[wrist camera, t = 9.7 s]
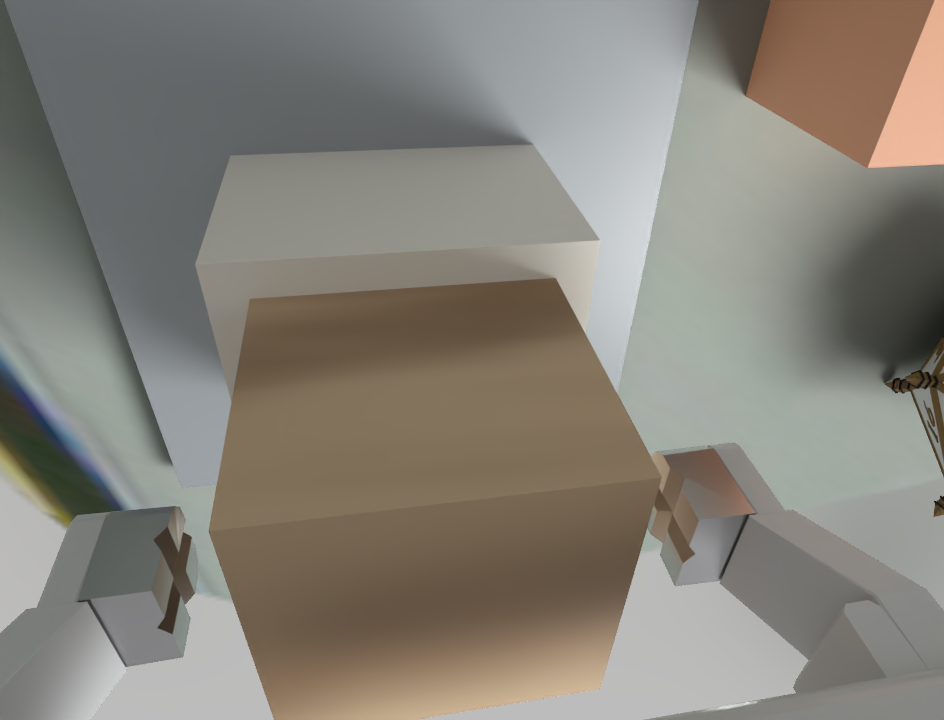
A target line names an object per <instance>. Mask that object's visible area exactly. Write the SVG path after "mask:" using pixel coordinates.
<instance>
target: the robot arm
mask: <svg viewBox="0 0 944 720" xmlns="http://www.w3.org/2000/svg"><path fill="white" fill-rule="evenodd" d="M651 458H652V460H653V462H654V464H655V466H656V468H657V469H658V471H659V473H660V475H661V477H662V479H661V482H660V486H659V489H658V493H657V496H656V499H655V503H654V506H653V510H652V513H651V516H650V520H649V523H648V527H647V528H648V530H649V532H650V534H651V535H653V536H654V537H655V538H657V539H658V540H660V541H661V542H662V543H663V546H662V549H661V553H660V556H661V558H662V560H663V562H664V564H665V566H666V568H667V570H668V572H669V574H670V577H671V579H672V581H673V583H674V585H675V586H680V585H689V584H698V583H706V582H715V581H720V584H721V585H722V586H723V587H725V588H726V589H727V590H728V591H729V592H730V593H732V594H733V595H734V596H735V597H736V598H737V599H739V600H740V601H741V602H742V603H743V604H744V605H746V606H747V607H748V608H749V609H750V610H751V611H753V612H754V613H755V614H756V615H757V616H758V617H760V618H761V619H762V620H763V621H764V622H765V623H767V624H768V625H769V626H770V627H771V628H772V629H774V630H775V631H776V632H777V633H778V634H779V635H780V636H782V637H783V638H784V639H785V640H786V641H788V642H789V643H790V644H791V645H792V646H793V647H794V648H796V649H797V650H798V651H799V652H800V653H801V654H803V655H804V656H805V657H806V658H807V659H808V660H809V661H808V662H807V664H806V665H805V667H804V668H803V670H802V672H801V673H800V675H799V676H798V678H797V679H796V682H795V684H794V687H793V688H794V690H795V692H796V693H795V694H789V695H783V696H779V697H772V698H767V699H761V700H755V701H749V702H743V703H738V704H732V705H727V706H721V707H715V708H709V709H704V710H698V711H692V712H686V713H681V714H675V715H670V716H663V717H658V718H653V719H646V720H944V610H943V609H942V608H941V607H940V605H939V604H938V603H937V602H936V601H935V599H934V598H933V597H932V595H931V594H930V593H929V592H928V590H927V589H925V588H923V587H922V586H920V585H918V584H917V583H915V582H913V581H912V580H910V579H908V578H906V577H905V576H903V575H901V574H900V573H898V572H896V571H895V570H893V569H891V568H890V567H888V566H886V565H885V564H883V563H881V562H880V561H878V560H876V559H875V558H873V557H871V556H869V555H868V554H866V553H865V552H863V551H861V550H860V549H858V548H856V547H854V546H853V545H851V544H849V543H848V542H846V541H844V540H843V539H841V538H839V537H838V536H836V535H834V534H833V533H831V532H829V531H828V530H826V529H824V528H822V527H821V526H819V525H817V524H816V523H814V522H812V521H811V520H809V519H807V518H806V517H804V516H802V515H801V514H799V513H797V512H796V511H794V510H786V511H785V510H784V508H783V507H782V505H781V504H780V503H779V501H778V500H777V498H776V497H775V495H774V494H773V493H772V491H771V490H770V488H769V487H768V485H767V484H766V483H765V481H764V480H763V478H762V477H761V475H760V474H759V473H758V471H757V470H756V468H755V467H754V465H753V464H752V463H751V461H750V460H749V458H748V457H747V455H746V454H745V453H744V451H743V450H742V448H741V447H740V446H739V445H737V444H736V443H726V444H718V445H709V446H698V447H690V448H682V449H674V450H666V451H658V452H655V453H654V454H653V455H652V456H651ZM184 525H185V518H184V515H183V513H182V511H181V508H180V507H177V506H172V507H161V508H149V509H138V510H127V511H115V512H108V513H97V514H87V515H77V516H76V517H75V519H74V520H73V521H72V522H71V523H70V524H69V527H68V529H67V532H66V534H65V537H64V540H63V542H62V545H61V547H60V550H59V552H58V555H57V557H56V560H55V562H54V565H53V568H52V570H51V573H50V575H49V578H48V580H47V583H46V586H45V588H44V591H43V593H42V596H41V598H40V601H39V603H38V606H37V608H31V609H26V610H25V611H24V612H23V613H22V614H21V615H20V616H18V617H17V619H15V620H14V621H13V622H12V623H11V624H10V625H9V626H7V628H5V629H4V630H3V631H2V632H1V633H0V720H90V718H91V717H92V716H93V714H94V713H95V712H96V710H97V709H98V708H99V706H100V705H101V704H102V703H103V701H104V700H105V699H106V697H107V696H108V695H109V693H110V692H111V691H112V689H113V688H114V687H115V685H116V684H117V683H118V681H119V680H120V679H121V677H122V676H123V675H124V673H125V672H126V671H127V669H126V667H128V666H134V665H140V664H146V663H152V662H158V661H164V660H169V659H175V658H181V657H183V655H184V650H185V645H186V639H187V634H188V629H189V623H190V616H189V614H188V612H187V609H186V607H185V604H186V603H187V602H188V601H189V599H191V597H192V596H193V595H194V594H195V590H196V584H197V578H198V559H197V553H196V547H195V544H194V541H193V538H192V537H191V536H189V535H187V534H186V533H184V532H183V530H184Z"/></svg>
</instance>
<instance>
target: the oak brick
mask: <svg viewBox="0 0 944 720" xmlns="http://www.w3.org/2000/svg"><path fill="white" fill-rule="evenodd" d="M661 479H662V477H661V475H660V473H659V471H658V469H657V468H656V466H655V464H654V462H653V460H652V458H651V456H650V454H649V452H648V451H647V449H646V447H645V445H644V443H643V441H642V439H641V437H640V436H639V434H638V432H637V430H636V428H635V426H634V424H633V422H632V420H631V419H630V417H629V415H628V413H627V411H626V409H625V407H624V405H623V404H622V402H621V400H620V398H619V396H618V394H617V392H616V390H615V388H614V387H613V385H612V383H611V381H610V379H609V377H608V375H607V373H606V372H605V370H604V368H603V366H602V364H601V362H600V360H599V358H598V356H597V355H596V353H595V351H594V349H593V347H592V345H591V343H590V341H589V340H588V338H587V336H586V334H585V332H584V330H583V328H582V326H581V324H580V323H579V321H578V319H577V317H576V315H575V313H574V311H573V309H572V308H571V306H570V304H569V302H568V300H567V298H566V296H565V294H564V293H563V291H562V289H561V287H560V285H559V283H558V281H557V279H556V278H548V279H533V280H518V281H504V282H489V283H475V284H460V285H445V286H431V287H416V288H402V289H387V290H373V291H358V292H343V293H329V294H314V295H300V296H285V297H270V298H256V299H250V300H249V306H248V311H247V317H246V323H245V328H244V334H243V340H242V345H241V351H240V357H239V362H238V368H237V374H236V379H235V385H234V391H233V396H232V402H231V408H230V413H229V419H228V424H227V430H226V436H225V441H224V447H223V453H222V458H221V464H220V470H219V475H218V481H217V487H216V492H215V498H214V504H213V509H212V515H211V521H210V526H209V534H210V537H211V540H212V542H213V545H214V548H215V551H216V554H217V557H218V560H219V563H220V565H221V568H222V571H223V574H224V577H225V580H226V583H227V586H228V588H229V591H230V594H231V597H232V600H233V603H234V606H235V608H236V611H237V614H238V617H239V620H240V622H241V626H242V629H243V631H244V634H245V637H246V640H247V643H248V646H249V649H250V651H251V655H252V657H253V660H254V663H255V666H256V669H257V672H258V674H259V677H260V680H261V683H262V686H263V689H264V692H265V695H266V698H267V700H268V703H269V706H270V709H271V712H272V714H273V718H274V720H417V719H423V718H429V717H435V716H441V715H447V714H453V713H459V712H465V711H471V710H477V709H483V708H489V707H494V706H500V705H507V704H513V703H519V702H525V701H531V700H537V699H543V698H549V697H555V696H561V695H567V694H573V693H579V692H585V691H591V690H597V689H600V687H601V684H602V680H603V677H604V673H605V670H606V667H607V663H608V660H609V656H610V653H611V650H612V646H613V643H614V639H615V636H616V633H617V629H618V626H619V622H620V619H621V615H622V612H623V609H624V605H625V602H626V598H627V595H628V591H629V588H630V585H631V581H632V578H633V575H634V571H635V567H636V564H637V561H638V557H639V554H640V551H641V547H642V544H643V540H644V537H645V534H646V530H647V527H648V523H649V520H650V516H651V513H652V510H653V506H654V503H655V499H656V496H657V493H658V489H659V486H660V482H661Z"/></svg>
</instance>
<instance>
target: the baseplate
mask: <svg viewBox="0 0 944 720" xmlns="http://www.w3.org/2000/svg"><path fill="white" fill-rule="evenodd" d="M4 3H5V6H6V8H7V11H8V14H9V17H10V19H11V22H12V25H13V28H14V30H15V33H16V36H17V38H18V41H19V44H20V47H21V49H22V52H23V55H24V58H25V60H26V63H27V66H28V69H29V71H30V74H31V77H32V80H33V82H34V85H35V88H36V91H37V93H38V96H39V99H40V102H41V104H42V107H43V110H44V113H45V115H46V118H47V121H48V123H49V126H50V129H51V132H52V134H53V137H54V140H55V143H56V145H57V148H58V151H59V154H60V156H61V159H62V162H63V165H64V167H65V170H66V173H67V176H68V178H69V181H70V184H71V187H72V189H73V192H74V195H75V198H76V200H77V203H78V206H79V208H80V211H81V214H82V217H83V219H84V222H85V225H86V228H87V230H88V233H89V236H90V239H91V241H92V244H93V247H94V250H95V252H96V255H97V258H98V261H99V263H100V266H101V269H102V272H103V274H104V277H105V280H106V283H107V285H108V288H109V291H110V293H111V296H112V299H113V302H114V304H115V307H116V310H117V313H118V315H119V318H120V321H121V324H122V326H123V329H124V332H125V335H126V337H127V340H128V343H129V346H130V348H131V351H132V354H133V357H134V359H135V362H136V365H137V368H138V370H139V373H140V376H141V378H142V381H143V384H144V387H145V389H146V392H147V395H148V398H149V400H150V403H151V406H152V409H153V411H154V414H155V417H156V420H157V422H158V425H159V428H160V431H161V433H162V436H163V439H164V442H165V444H166V447H167V450H168V452H169V455H170V458H171V461H172V463H173V466H174V469H175V472H176V474H177V477H178V480H179V483H180V485H181V488H188V487H197V486H207V485H216V484H217V481H218V475H219V470H220V464H221V458H222V453H223V447H224V441H225V436H226V430H227V424H228V419H229V413H230V408H231V402H232V396H233V391H234V385H235V379H236V374H237V368H238V362H239V357H240V351H241V345H242V340H243V334H244V328H245V323H246V317H247V311H248V306H249V300H250V299H256V298H270V297H285V296H300V295H314V294H329V293H343V292H358V291H373V290H387V289H402V288H416V287H431V286H445V285H460V284H475V283H489V282H504V281H518V280H533V279H548V278H556V279H557V281H558V283H559V285H560V287H561V289H562V291H563V293H564V294H565V296H566V298H567V300H568V302H569V304H570V306H571V308H572V309H573V311H574V313H575V315H576V317H577V319H578V321H579V323H580V324H581V326H582V328H583V330H584V332H585V334H586V336H587V338H588V340H589V341H590V343H591V345H592V347H593V349H594V351H595V353H596V355H597V356H598V358H599V360H600V362H601V364H602V366H603V368H604V370H605V372H606V373H607V375H608V377H609V379H610V381H611V383H612V385H613V387H614V388H615V390H616V392H618V387H619V383H620V378H621V373H622V368H623V363H624V359H625V354H626V349H627V344H628V339H629V335H630V330H631V325H632V320H633V315H634V311H635V306H636V301H637V296H638V291H639V287H640V282H641V277H642V272H643V267H644V263H645V258H646V253H647V248H648V243H649V239H650V234H651V229H652V224H653V219H654V215H655V210H656V205H657V200H658V195H659V191H660V186H661V181H662V176H663V171H664V167H665V162H666V157H667V152H668V147H669V143H670V138H671V133H672V128H673V123H674V119H675V114H676V109H677V104H678V99H679V95H680V90H681V85H682V80H683V75H684V71H685V66H686V61H687V56H688V51H689V47H690V42H691V37H692V32H693V27H694V23H695V18H696V13H697V8H698V3H699V0H4Z"/></svg>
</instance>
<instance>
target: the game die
mask: <svg viewBox="0 0 944 720" xmlns="http://www.w3.org/2000/svg"><path fill="white" fill-rule="evenodd" d="M905 378H906V379H907V380H908V381H907V380H906V379H903V380H900V378H896V379H894V380H893V381H892V382H889V383H886V384H885V385H887V386H888V387H890V388H891V389H892V390H893V391H894V392H895V393H898V392H902V393H905V392H908V391H910V392H911V394H912V397H913V400H914V402H915V405H916V407H917V410H918V412H919V415H920V417H921V420H922V423H923V425H924V428H925V430H926V433H927V435H928V438H929V440H930V443H931V446H932V448H933V451H934V453H935V456H936V458H937V461H938V463H939V466H940V469H941V471H942V474H943V476H944V337H943V338H942V340H941V341H940V342H939V344H938V345H937V347H936V348H935V349H934V351H933V352H932V354H931V355H930V356H929V358H928V359H927V361H926V362H925V363H924V365H923V366H922V368H921V369H920V370H918V371H916V372H913V373H911V375H909V376H907V377H905ZM934 502H935V509H934V517H935V516H939V515H944V496H943V497H942V496H940V499H939V500H938V501H937V502H936V501H934Z"/></svg>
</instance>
